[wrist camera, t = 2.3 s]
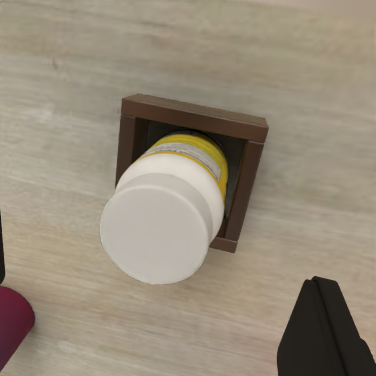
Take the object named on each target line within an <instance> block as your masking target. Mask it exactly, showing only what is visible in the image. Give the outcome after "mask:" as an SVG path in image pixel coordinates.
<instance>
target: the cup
mask: <svg viewBox="0 0 376 376" xmlns="http://www.w3.org/2000/svg"><path fill="white" fill-rule="evenodd" d="M34 318H35V317H34V312H33V310H32V308H31V306H30V305H29V303H28V302H27V301H26V300H25V299H24V298H23V297H22V296H21V295H20V294H18V293H17V292H15V291H13V290H11V289H9V288H6V287H1V286H0V372H1V370H2V369H3V368H4V366H5V365H6V363H7V362H8V361H9V359H10V358H11V356H12V355H13V354H14V352H15V351H16V349H17V348H18V346H19V345H20V344H21V342H22V341H23V339H24V338H25V337H26V335H27V334H28V332H29V331H30V330H31V328H32V327H33V325H34Z"/></svg>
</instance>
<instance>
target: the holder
mask: <svg viewBox="0 0 376 376" xmlns="http://www.w3.org/2000/svg"><path fill="white" fill-rule="evenodd" d="M148 120H153V121H158V122H163V123H167V124H172V125H177V126H182V127H187V128H192V129H197V130H202V131H207V132H212V133H217V134H222V135H227V136H232V137H236V138H241V139H245V143H244V147H243V151H242V155H241V159H240V164H239V168H238V172H237V176H236V180H235V184H234V188H233V192H232V196H231V201H230V205H229V209H228V213H227V217H226V218H223V220H222V223H221V226H220V229H219V231H218V233H217V235H216V236H215V238H214V239H213V241H212V242H211V243H210V245H209V247H210V248H214V249H218V250H222V251H227V252H231V253H235V251H236V247H237V243H238V240H239V236H240V232H241V228H242V225H243V221H244V217H245V214H246V210H247V206H248V202H249V199H250V195H251V191H252V188H253V184H254V180H255V176H256V173H257V169H258V165H259V162H260V158H261V154H262V151H263V147H264V142H265V140H266V136H267V132H268V129H269V127H268V124H267V122H266V119H265V118H261V117H256V116H251V115H246V114H241V113H235V112H230V111H225V110H220V109H215V108H210V107H205V106H200V105H195V104H189V103H184V102H179V101H174V100H169V99H164V98H159V97H154V96H149V95H143V94H135V95H132V96H128V97H125V98H122V107H121V119H120V132H119V145H118V157H117V170H116V183H115V189H116V187H117V184H118V182H119V180H120V178H121V177H122V175H123V174H124V172H125V171H126V170H127V169H128V168H129V167H130V166H131V165H132V164H133V163H134V162H135V161H136V160H137V159H139V158H140V157H141V156H142V155H143V154H144V153H145V147H146V138H147V129H148Z"/></svg>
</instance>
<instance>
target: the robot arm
mask: <svg viewBox="0 0 376 376" xmlns="http://www.w3.org/2000/svg"><path fill="white" fill-rule="evenodd" d="M4 277H5V264H4V252H3V239H2V226H1V213H0V284H1V283H2V282H3V280H4ZM277 367H278V376H376V363H375V361H374V359H373V356H372V354H371V352H370V349H369V347H368V345H367V344H366V342H365V341H364V340H363V339H362V338H360V336H359V333H358V331H357V328H356V326H355V324H354V321H353V319H352V316H351V314H350V312H349V309H348V307H347V304H346V302H345V299H344V297H343V295H342V292H341V290H340V287H339V285H338V283H337V282H336V281H334V280H329V279H325V278H321V277H317V276H314V277H313V278H312V279H311V280H305V281H304V283H303V286H302V288H301V291H300V293H299V296H298V299H297V301H296V304H295V306H294V309H293V311H292V314H291V316H290V319H289V322H288V324H287V327H286V329H285V332H284V334H283V337H282V340H281V342H280V345H279V348H278V352H277Z"/></svg>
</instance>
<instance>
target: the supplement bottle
mask: <svg viewBox="0 0 376 376" xmlns="http://www.w3.org/2000/svg"><path fill="white" fill-rule="evenodd" d="M228 174H229V163H228V159H227V155H226V153H225V151H224V149H223V147H222V146H221V145H220V143H219V142H218V141H217V140H216V139H215V138H214V137H212V136H211V135H209V134H208V133H206V132H203V131H201V130H197V129H192V128H184V129H178V130H174V131H172V132H170V133H168V134H166V135H165V136H163V137H162V138H161V139H160V140H158V141H157V142H156V143H155V144H154V145H153V146H152V147H151V148H150V149H149V150H147V151H146V152H145V153H144V154H143V155H142V156H141V157H140V158H139V159H137V160H136V161H135V162H134V163H133V164H132V165H131V166H130V167H129V168H128V169H127V170H126V171H125V172H124V174H123V175H122V177H121V178H120V180H119V182H118V184H117V187H116V189H115V193H114V196H113V197H112V198H111V199H110V200H109V201H108V203H107V204H106V206H105V208H104V210H103V212H102V214H101V218H100V225H99V233H100V238H101V242H102V245H103V248H104V250H105V252H106V253H107V255H108V257H109V258H110V260H111V261H112V262H113V263H114V264H115V265H116V266H117V267H118V268H119V269H120V270H121V271H123V272H124V273H125V274H127V275H128V276H130V277H132V278H134V279H136V280H138V281H142V282H145V283H148V284H156V285H165V284H173V283H176V282H179V281H182V280H184V279H186V278H188V277H189V276H191V275H192V274H193V273H195V272H196V271H197V270H198V269H199V267H200V266H201V265H202V263H203V261H204V259H205V257H206V254H207V252H208V248H209V245H210V243H211V242H212V241H213V239H214V238H215V236H216V235H217V233H218V231H219V229H220V226H221V223H222V220H223V215H224V207H225V198H226V190H227V183H228Z"/></svg>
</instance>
